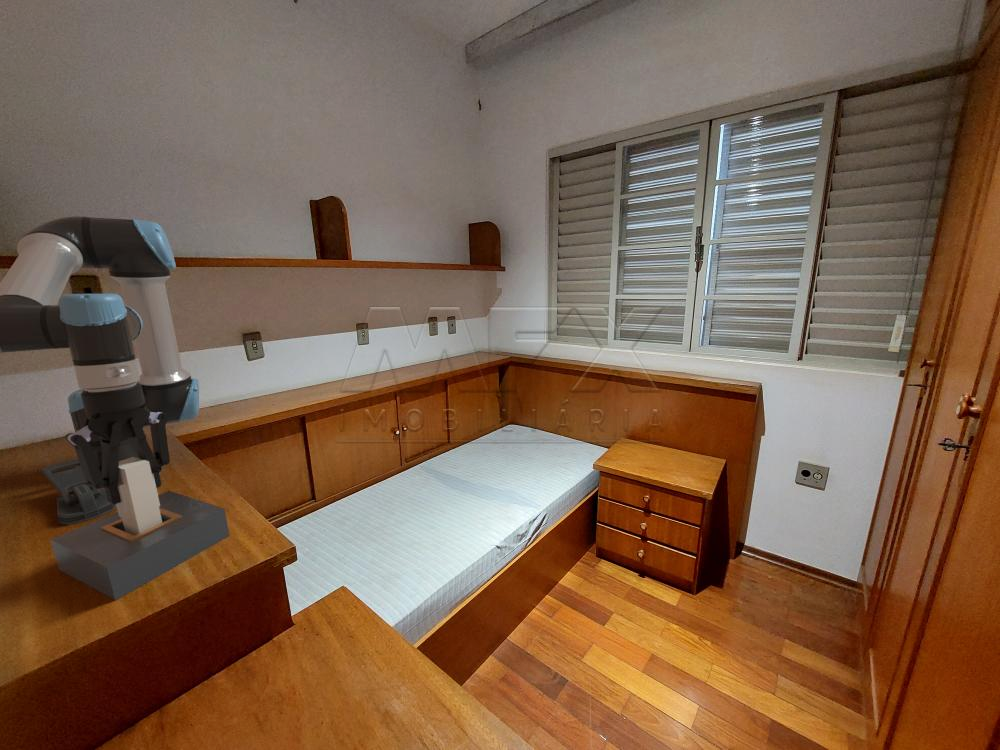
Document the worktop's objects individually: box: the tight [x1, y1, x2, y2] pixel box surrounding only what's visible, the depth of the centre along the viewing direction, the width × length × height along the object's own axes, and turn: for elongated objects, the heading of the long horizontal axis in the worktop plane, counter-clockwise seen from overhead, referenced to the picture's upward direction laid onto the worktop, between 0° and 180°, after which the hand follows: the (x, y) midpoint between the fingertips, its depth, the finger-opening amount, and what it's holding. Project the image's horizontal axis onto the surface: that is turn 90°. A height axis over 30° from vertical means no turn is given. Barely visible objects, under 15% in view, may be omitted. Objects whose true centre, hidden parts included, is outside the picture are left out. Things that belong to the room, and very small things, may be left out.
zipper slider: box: [40, 458, 117, 526], centre depth 92 cm, size 9×7×25 cm
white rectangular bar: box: [119, 457, 162, 536], centre depth 72 cm, size 5×4×16 cm
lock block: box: [50, 490, 230, 601], centre depth 74 cm, size 18×18×6 cm
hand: (140, 510), depth 73 cm, fingers closed on white rectangular bar, 3 cm apart
